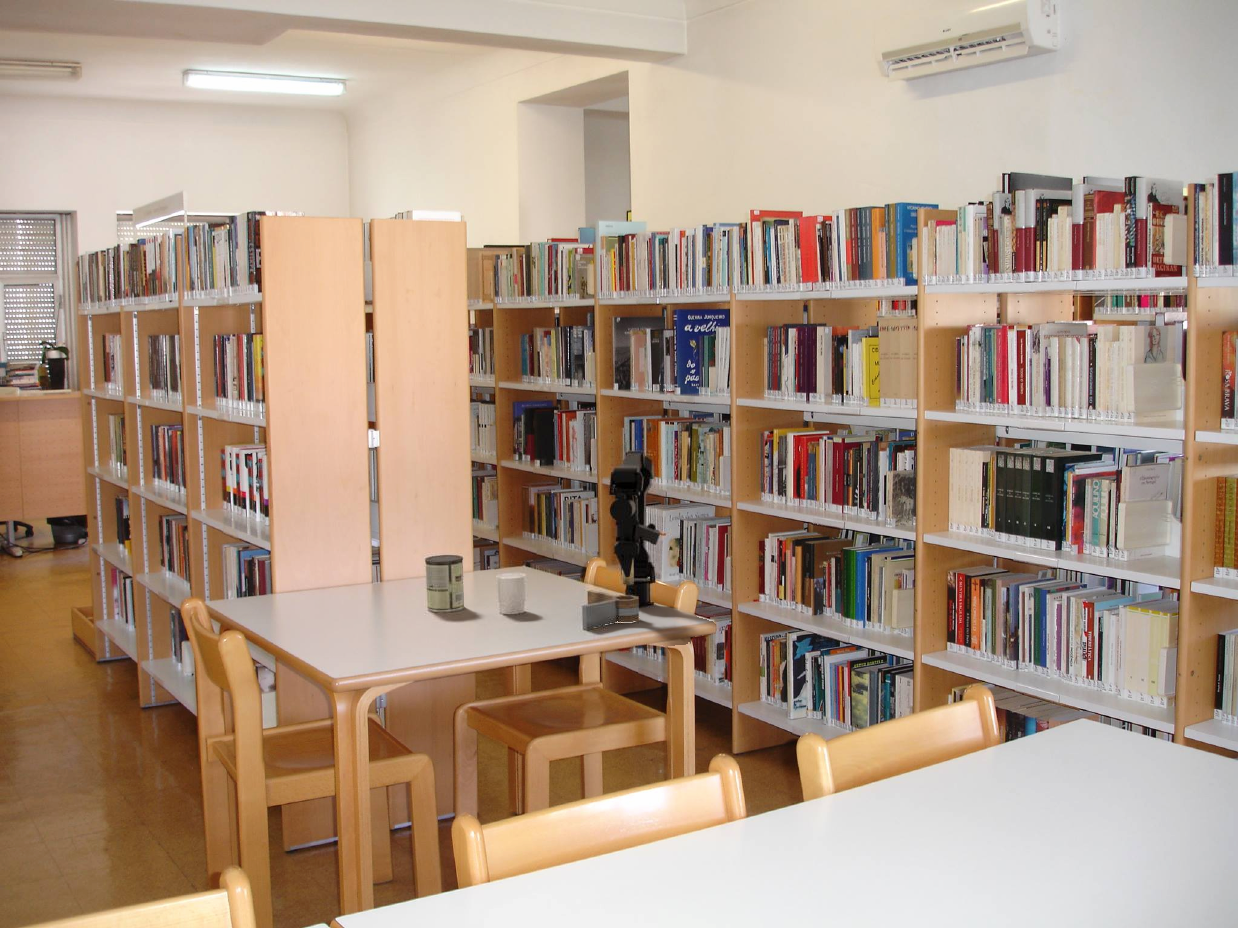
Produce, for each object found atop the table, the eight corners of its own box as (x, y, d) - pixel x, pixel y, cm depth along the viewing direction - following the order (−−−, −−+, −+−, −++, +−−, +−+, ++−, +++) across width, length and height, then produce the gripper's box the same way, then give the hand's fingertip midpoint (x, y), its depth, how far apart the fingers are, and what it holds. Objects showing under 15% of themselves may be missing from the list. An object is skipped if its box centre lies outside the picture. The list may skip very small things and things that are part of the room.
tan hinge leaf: (644, 620, 307) (643, 597, 306) (624, 624, 302) (624, 601, 301) (599, 610, 319) (599, 588, 319) (580, 614, 315) (579, 592, 314)
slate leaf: (626, 616, 312) (625, 593, 311) (644, 620, 307) (643, 597, 306) (575, 627, 300) (575, 604, 299) (593, 631, 295) (593, 608, 294)
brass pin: (628, 581, 308) (627, 551, 307) (636, 583, 305) (635, 552, 305) (619, 583, 305) (619, 553, 305) (627, 585, 303) (627, 554, 303)
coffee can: (431, 604, 331) (430, 554, 330) (468, 604, 330) (466, 554, 328) (422, 612, 321) (420, 561, 319) (459, 612, 320) (458, 561, 318)
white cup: (500, 616, 315) (499, 579, 314) (495, 610, 322) (494, 573, 321) (529, 613, 317) (528, 577, 316) (523, 607, 324) (522, 572, 323)
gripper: (658, 520, 294) (659, 582, 296) (658, 510, 313) (658, 568, 314) (613, 521, 294) (614, 583, 296) (615, 511, 313) (616, 569, 315)
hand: (627, 575), depth 305 cm, fingers closed on brass pin, 3 cm apart
